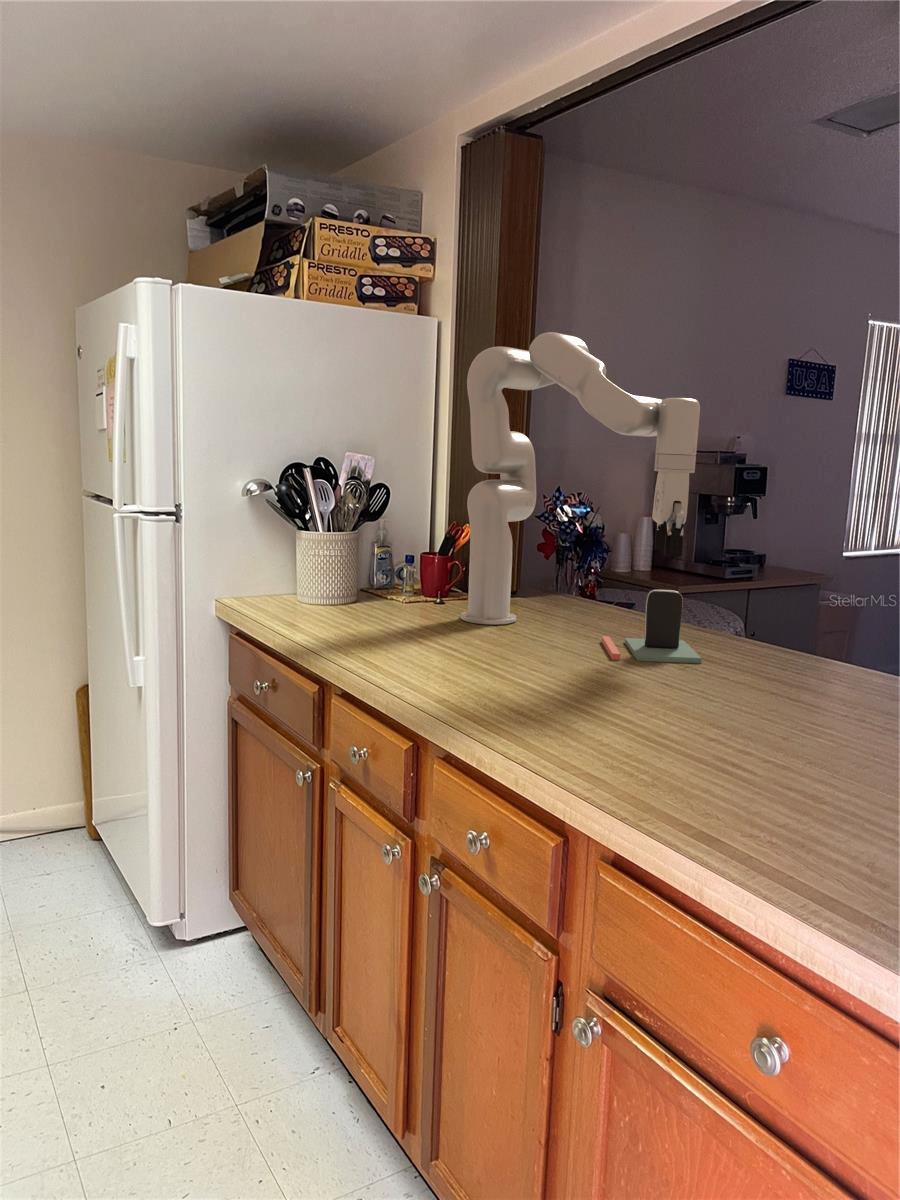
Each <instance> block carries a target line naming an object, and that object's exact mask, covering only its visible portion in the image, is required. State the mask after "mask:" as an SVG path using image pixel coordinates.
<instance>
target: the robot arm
mask: <svg viewBox="0 0 900 1200" xmlns="http://www.w3.org/2000/svg"><path fill="white" fill-rule="evenodd" d="M606 375H607V367H606V365H605V364H604V362H603V361H601V360H600V359H598V358H596V357H595V356H593V355H592V354H590V351H589V348H588V346H587V344H586V343H585V342H584V341H583V340H582V339H581V338H579V337H578V336H574V335H569V334H564V333H559V332H554V331H550V332H549V331H547V332H544V333H540V334H539V335H537V336H536V337H535V338H534V339H533V340H532V342H531V344H530V345H529V349H528V350H525V349H520V348H515V347H509V346H492V347H489V348H486V349H484V350H482V351H480V352H479V353H478V354H477V355H476V356H475V358H474V359H473V360H472V362H471V364H470V366H469V368H468V372H467V377H466V385H467V386H466V389H467V397H468V402H469V413H470V414H469V415H470V438H471V458H472V462H473V463H472V464H473V466H474V467H475V468H476V470H478V471H479V472H481V473H485V474H498V475H499V474H500V478H499V479H486V480H482V481H479V482H478V483H476V484H475V485H474V486H473V487H472V488H471V489H470V490H469V493H468V495H467V499H466V500H467V502H466V504H467V506H466V508H467V512H468V513H467V514H468V520H469V534H470V535H469V536H470V537H469V538H470V539H469V567H468V568H469V569H468V570H469V573H468V574H469V575H468V593H467V594H468V599H467V602H468V603H467V610H466V611H463V612H461V613H460V619H461V620H463V621H465V622H467V623H471V624H480V625H492V626H493V625H494V626H495V625H496V626H497V625H508V624H512V623H515V622H516V621H517V615H516V614H514V613H512V612H510V611H511V590H512V567H513V537H512V532H511V528H510V526H509V523H510V522H512V523H513V522H519V521H523V520H527V519H528V518H529V517H530V516H532V513H533V512H534V510H535V508H536V504H537V479H536V478H537V474H536V469H537V468H536V454H535V450H534V446H533V443H532V442H531V440H530V439H529V438H528V437H527V436H526V435H525V434H524V433H522V432H518V431H511V429H510V415H509V414H510V413H509V411H510V410H509V407H508V403H507V400H506V399H505V396H504V394H503V389H504V388H505V389H511V390H512V389H513V390H520V391H532V390H534V391H535V390H538V389H541V388H544V387H548V386H551V385H555V384H557V385H558V386H560V387H561V388H562V389H564V390H565V391H567V392H568V393H570V394H571V395H572V396H574V397H575V398H576V399H577V400H578V403H579V404H580V406H581V407H582V408H583V409H584V410H585V412H587V414H589V416H591V417H592V418H594V419H595V420H597V422H599V423H601V424H603V426H605V427H607V428H608V429H610V430H611V431H613V432H615V433H617V434H618V435H619V434H620V435H622V436H633V437H656V443H655V445H656V446H655V456H654V457H655V458H654V472H658V473H657V477H656V482H655V489H654V497H653V506H652V515H651V517H652V520H653V521H654V522H656V530H655V538H654V550H655V551H663V555H664V557H665V558H667V557H670V558H671V557H672V558H681V557H682V555H683V544H684V524H685V523H686V522H687V515H688V505H689V491H690V490H689V489H690V474H694V473H695V470H696V462H697V461H696V459H697V458H696V457H697V456H696V455H697V451H698V450H697V448H698V436H699V424H700V413H701V405H700V401H698V400H697V399H694V398H690V397H689V398H687V397H667V398H663V399H661V398H657V397H656V398H655V397H650V396H642V395H641V396H640V395H634V394H630V393H628V392H626V391H625V390H623V388H620V387H619V386H617V385H616V384H614V383H613V382H612V381H610V380H609V379H608V378H607V377H606Z"/></svg>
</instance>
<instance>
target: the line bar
mask: <svg viewBox="0 0 900 1200" xmlns="http://www.w3.org/2000/svg"><path fill="white" fill-rule="evenodd" d="M601 644H602V645H603V647H604V648H605V651H606V652H607V654H608V655H609V657H610V659H611V660H612V661H620V660H621V653H620V651H619V649H618V648H617V645H615V643H614V641H613V640H612V638H611V637H610V636H609V635H607V636H606V635H602V636H601Z"/></svg>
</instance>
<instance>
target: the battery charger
mask: <svg viewBox="0 0 900 1200" xmlns="http://www.w3.org/2000/svg"><path fill="white" fill-rule="evenodd" d="M683 598H684V597H683V595H682V594H681V593H680V592H679V591H676V590H672V589H660V588H659V589H657V588H656V589H651V590H649V591H648V592H647V594H646V597H645V606H644V607H645V608H644V615H645V622H644V623H645V631H644V639H645V641H644V645H645V646H646V647H655V648H678V647H679V640H680V635H681V626H682V618H683V607H684V606H683V605H684V604H683V603H684V602H683V601H684V600H683Z"/></svg>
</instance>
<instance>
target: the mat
mask: <svg viewBox="0 0 900 1200" xmlns="http://www.w3.org/2000/svg"><path fill="white" fill-rule="evenodd" d="M644 641H645V638H635V637H633V638H632V637H625V638H624V644H625V646H626V647H627V648H628V650H629V652H630V653H631V654H632V655H633V657H634V658H635V659H636V661H638V662H659V663H661V662H662V663H663V662H664V663H682V664H683V663H684V664H685V663H686V664H688V663H689V664H702V660H703V658H702V656H700V655H699V654H698V653H697V652H696V650H694V649H693V648H692V647H691V646H690V645H689V644H688V643H687V642H686V641H685V640H684V639H679V647H678V648H655V647H646V646H645V645H644Z"/></svg>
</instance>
